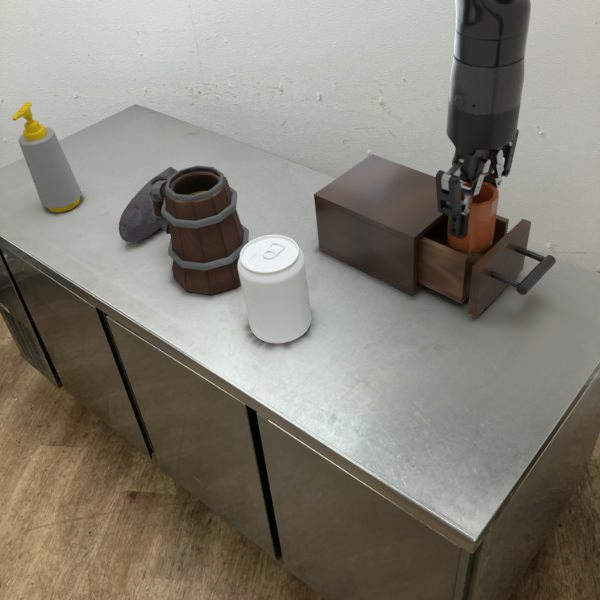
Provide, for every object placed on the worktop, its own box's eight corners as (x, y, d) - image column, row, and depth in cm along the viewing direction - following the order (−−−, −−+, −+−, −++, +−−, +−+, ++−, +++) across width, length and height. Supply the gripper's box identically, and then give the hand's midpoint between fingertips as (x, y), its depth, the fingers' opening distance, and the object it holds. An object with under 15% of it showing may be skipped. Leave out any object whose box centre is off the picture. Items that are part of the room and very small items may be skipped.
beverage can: (238, 334, 84) (221, 263, 76) (272, 296, 89) (260, 225, 81) (290, 354, 81) (279, 282, 73) (323, 314, 85) (315, 242, 77)
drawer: (557, 284, 84) (568, 235, 79) (511, 335, 78) (519, 286, 73) (426, 228, 95) (427, 183, 90) (376, 269, 90) (375, 223, 84)
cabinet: (465, 248, 93) (471, 190, 86) (412, 296, 86) (414, 237, 80) (373, 208, 102) (371, 153, 95) (319, 249, 96) (313, 194, 89)
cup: (501, 235, 82) (507, 189, 77) (477, 258, 79) (482, 211, 74) (463, 220, 85) (467, 174, 80) (438, 242, 82) (441, 195, 78)
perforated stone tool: (137, 255, 99) (124, 218, 94) (113, 246, 101) (99, 209, 97) (199, 204, 108) (190, 167, 103) (175, 196, 110) (165, 161, 105)
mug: (270, 256, 95) (255, 168, 85) (218, 306, 89) (195, 216, 78) (192, 227, 103) (170, 143, 93) (138, 271, 96) (108, 185, 86)
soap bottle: (37, 215, 110) (-8, 118, 98) (54, 191, 115) (14, 96, 103) (74, 215, 109) (34, 117, 97) (90, 192, 114) (54, 95, 102)
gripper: (478, 132, 63) (465, 264, 75) (550, 77, 71) (528, 206, 82) (415, 113, 68) (412, 241, 79) (489, 63, 75) (476, 187, 86)
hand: (471, 222), depth 80 cm, fingers closed on cup, 5 cm apart
